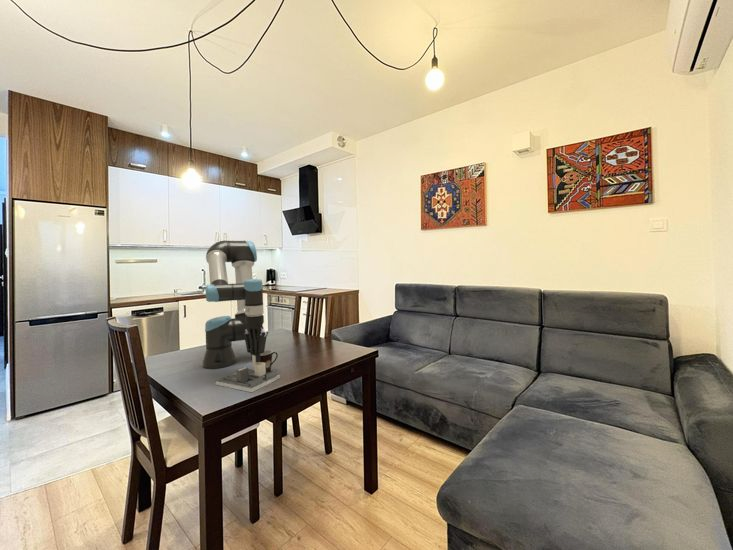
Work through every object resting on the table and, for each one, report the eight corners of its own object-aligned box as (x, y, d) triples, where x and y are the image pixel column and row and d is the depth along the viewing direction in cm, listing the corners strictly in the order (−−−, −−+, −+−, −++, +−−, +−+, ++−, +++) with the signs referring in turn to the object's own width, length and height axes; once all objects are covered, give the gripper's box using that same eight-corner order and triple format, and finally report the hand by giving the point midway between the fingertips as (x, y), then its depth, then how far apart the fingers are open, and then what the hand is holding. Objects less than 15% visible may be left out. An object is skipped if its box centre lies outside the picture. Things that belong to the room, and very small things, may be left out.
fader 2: (254, 376, 135) (254, 364, 134) (261, 373, 138) (261, 361, 138) (258, 377, 133) (258, 365, 133) (265, 374, 137) (265, 362, 137)
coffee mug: (254, 379, 137) (253, 356, 136) (251, 373, 145) (251, 351, 144) (281, 374, 142) (281, 352, 142) (277, 368, 150) (277, 348, 149)
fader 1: (236, 382, 128) (236, 369, 128) (244, 379, 132) (243, 366, 131) (240, 383, 127) (240, 370, 127) (248, 379, 131) (248, 367, 130)
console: (215, 384, 131) (215, 375, 130) (245, 372, 145) (245, 363, 145) (251, 392, 122) (251, 382, 122) (279, 378, 136) (279, 369, 136)
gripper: (236, 315, 135) (238, 370, 136) (259, 317, 129) (261, 374, 130) (250, 313, 142) (251, 364, 143) (272, 314, 136) (274, 368, 137)
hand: (256, 369), depth 136 cm, fingers closed
